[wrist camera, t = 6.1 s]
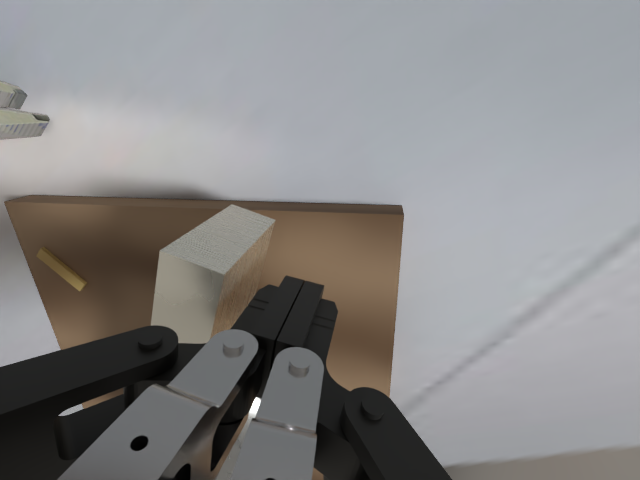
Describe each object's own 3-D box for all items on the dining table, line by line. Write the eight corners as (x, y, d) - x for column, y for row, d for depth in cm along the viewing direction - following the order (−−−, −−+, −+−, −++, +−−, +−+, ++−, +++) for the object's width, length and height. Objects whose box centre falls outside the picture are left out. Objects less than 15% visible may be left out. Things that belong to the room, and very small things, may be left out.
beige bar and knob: (264, 467, 22) (225, 588, 16) (140, 418, 22) (60, 520, 17) (355, 239, 15) (339, 317, 9) (170, 172, 15) (48, 209, 10)
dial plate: (378, 516, 24) (377, 544, 23) (128, 470, 28) (113, 492, 26) (401, 205, 16) (404, 216, 14) (31, 194, 19) (0, 202, 18)
